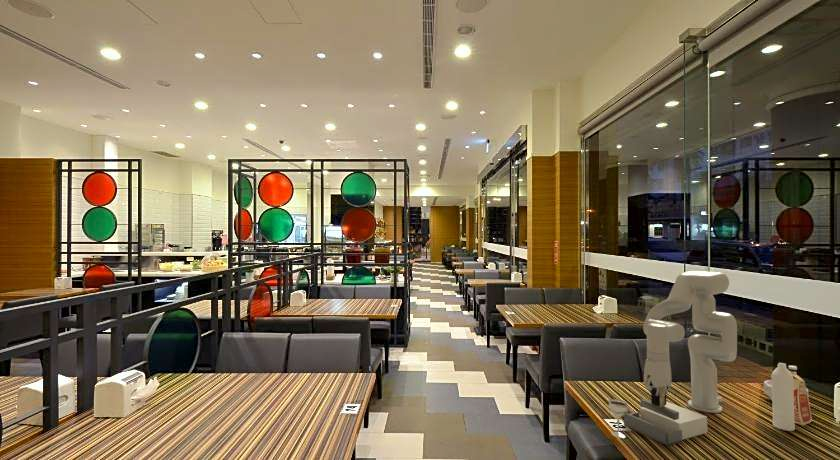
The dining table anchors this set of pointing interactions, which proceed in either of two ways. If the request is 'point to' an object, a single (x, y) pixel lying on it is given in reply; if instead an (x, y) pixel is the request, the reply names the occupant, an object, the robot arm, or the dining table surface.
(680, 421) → the white flat square block
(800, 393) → the milk carton
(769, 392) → the paper bowls
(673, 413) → the scraper
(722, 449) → the dining table surface
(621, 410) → the wineglass
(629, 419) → the tray
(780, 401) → the water bottle
